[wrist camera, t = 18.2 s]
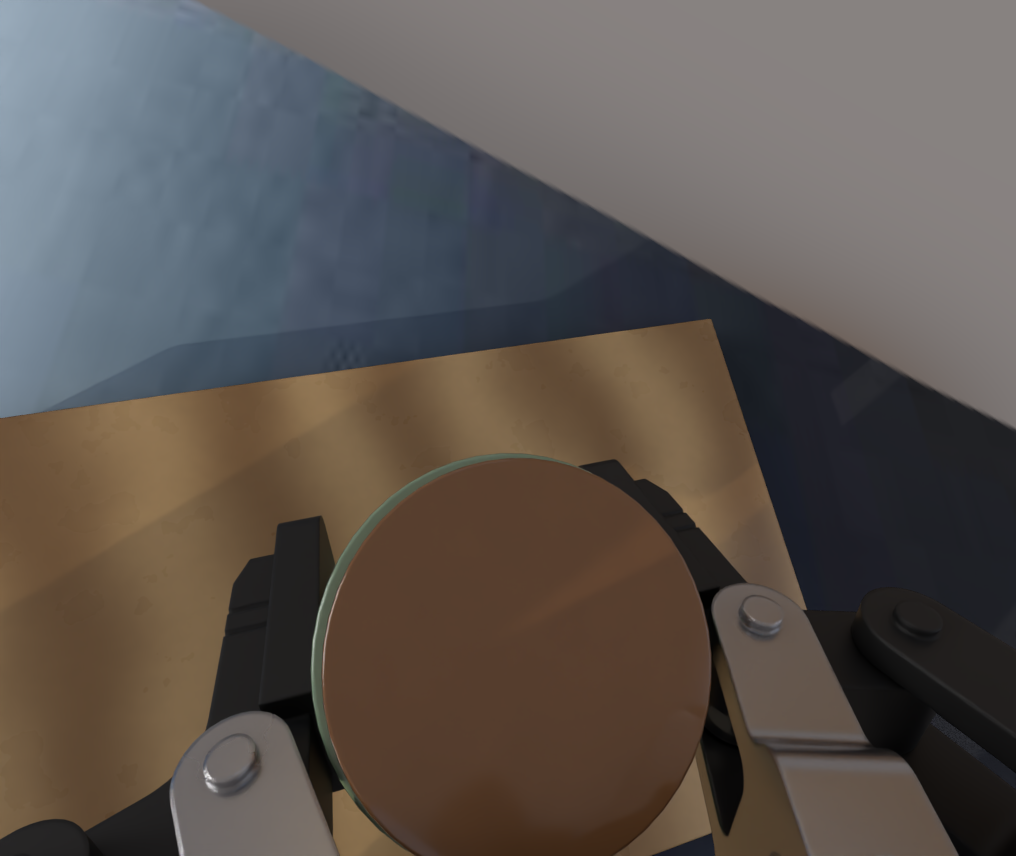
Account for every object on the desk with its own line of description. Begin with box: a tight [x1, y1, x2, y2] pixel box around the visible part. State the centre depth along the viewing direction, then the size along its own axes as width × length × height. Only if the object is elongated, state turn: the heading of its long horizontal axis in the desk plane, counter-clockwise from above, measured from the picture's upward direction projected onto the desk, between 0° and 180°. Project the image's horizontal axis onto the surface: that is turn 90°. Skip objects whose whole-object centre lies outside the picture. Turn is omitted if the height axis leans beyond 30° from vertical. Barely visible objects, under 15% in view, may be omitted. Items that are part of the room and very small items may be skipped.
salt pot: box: [310, 453, 711, 856], centre depth 10 cm, size 5×5×9 cm
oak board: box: [0, 319, 807, 856], centre depth 17 cm, size 24×16×1 cm, turn 102°
